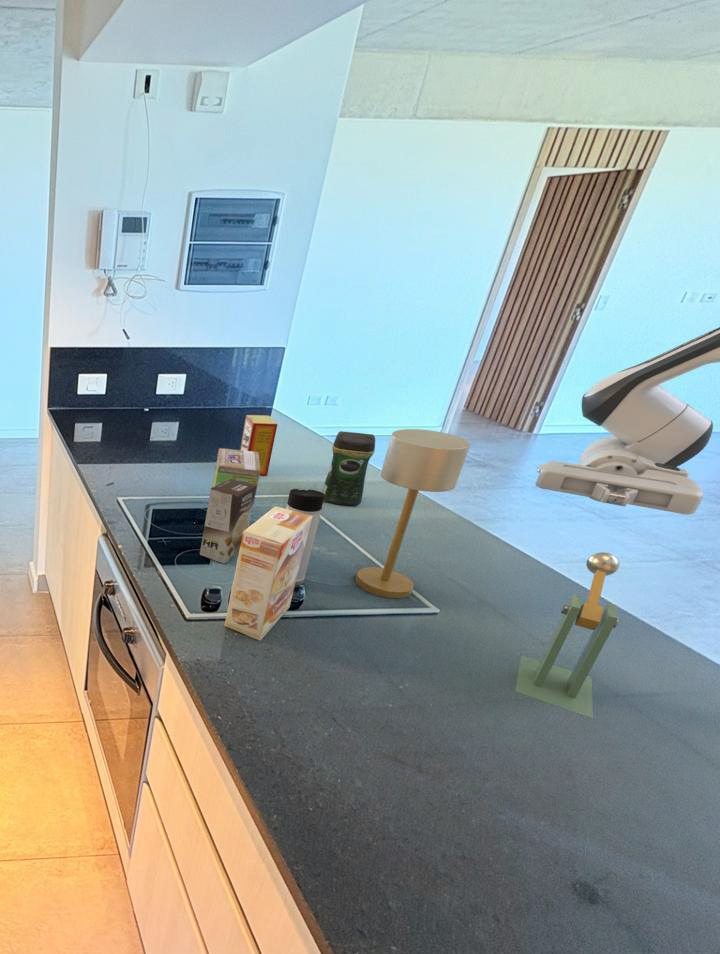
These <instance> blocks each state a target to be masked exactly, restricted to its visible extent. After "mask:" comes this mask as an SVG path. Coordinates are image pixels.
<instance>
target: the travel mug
mask: <svg viewBox="0 0 720 954" xmlns="http://www.w3.org/2000/svg"><path fill="white" fill-rule="evenodd" d="M324 497H325V494H324V493H322V491H319V490H316V489H299V488H292V489H290V490H289V494H288V499H287V502H286V506H285V509H288V510H292V511H296V512H300V513H303V514H307V515H310V516H313V518H312V521H311V524H310V528H309V532H308V536H307V540H306V544H305V548H304V551H303V555H302V559H301V563H300V567H299V571H298V575H297V579H296V583H295V585H299V586H301V585H303V584H304V582H305V578H306V574H307V570H308V567H309V562H310V559H311V553H312V550H313V546H314V542H315V538H316V534H317V531H318V528H319V527H318V526H319V523H320V518H321V516H322V515H321V514H322V510H323V504H324V502H325V500H324Z"/></svg>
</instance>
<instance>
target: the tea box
mask: <svg viewBox="0 0 720 954" xmlns="http://www.w3.org/2000/svg"><path fill="white" fill-rule="evenodd" d="M216 457H217V458H216V463H215V468H214V472H213V473H214V474H213V478H212V485H211V488H212V487H215V486H217V485H219V484H221V483H223V482H225V481H227V480H229V479H234V480H237V481H243V482H247V483H250V484H254V485H257V487H259V486H258V484H259V480H260V477H261V476H260V461H259V453H258V452H252V451H242V450H240V449H231V448H224V447H223V448H221V447H220V448H218V453H217V456H216Z"/></svg>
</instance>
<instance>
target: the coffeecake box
mask: <svg viewBox="0 0 720 954" xmlns="http://www.w3.org/2000/svg"><path fill="white" fill-rule="evenodd" d="M312 518H313V516H310V515H307V514H303V513H300V512H296V511H292V510H288V509H286V507H281V506H277V505H275V506H274V507H272V508H270V510H269V511H267V512H266V513H265V514H263V515H262V516H261V517H260V518H258V519H257V520H256V521H254V522H253V523H252V524H250V525H249V527H248V528H247V529H246V530H244V531H243V536H242V541H241V546H240V551H239V555H237V561H236V567H235V571H234V576H233V581H232V584H231V585H232V586H231V589H230V590H231V591H230V596H229V600H228V606H227V611H226V616H225V620H224V628H225V627H226V628H228V629H231V630H232V631H236V632H238V633H240V634H243V635H245V636H247V637H248V638H249V637H250V638H252V639H255V640H257V641H262V640H263V638H264V637H265V636H266V635H267V634H268V633H269V632H270V631H271V629H272V628H273V627H275V625H276V624H277V622H278V621H279V620H280V619H281V618H282V617H283V616H284V614H285V613H286V612H287V611H288V610H289V609H290V607H291V603H292V599H293V595H294V591H295V587H296V586H295V583H296V579H297V575H298V571H299V567H300V563H301V559H302V555H303V551H304V548H305V544H306V540H307V536H308V532H309V528H310V524H311V521H312Z"/></svg>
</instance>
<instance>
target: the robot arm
mask: <svg viewBox="0 0 720 954" xmlns="http://www.w3.org/2000/svg"><path fill="white" fill-rule="evenodd" d="M716 363H720V326H719V327H717V328H715V329H712V330H710V331H708V332H705V333H704V334H701V335H699V336H697V337H695V338H692V339H691V340H688V341H686V342H683V343H682V344H680V345H678V346H675V347H673V348H671V349H669V350H667V351H665V352H663V353H661V354H658V355H656V356H654V357H652V358H650V359H648V360H645V361H643V362H640V363H638V364H635V365H633V366H631V367H628V368H625V369H623V370H620V371H618V372H616V373H615V372H614V373H612V374H610V375H608V376H606V377H604V378H602V379H600V380H599V381H597V382H596V383H594V384H593V385H592V386H591V387H590V388H589V389H588V390H587V391H586V392H585V393H584V394H583V395H582V398H581V413H582V417H583V418H584V419H586V420H588V421H590V422H591V423H593V424H595V425H597V426H598V427H602V428H603V429H604V430H606V431H607V432H608V433H609V434H611V435H608V436H604V437H601V438H598V439H596V440H594V441H593V442H591V443H590V444H588V445H587V446H586V447H585V448H584V450H583V451H582V452H581V454H580V456H579V458H578V463H570V462H564V461H558V460H557V461H556V460H555V461H553V460H552V461H547V462H545V464H539V465H538V466H537V467H536V472H537V473H539V474H538V475H537V478H536V481H535V486H536V487H537V488H538V489H539V488H540V489H542V490H548V491H553V492H558V493H564V494H569V495H574V496H580V497H585V498H589V499H591V500H593V501H596V502H599V503H603V504H609V505H614V506H620V507H626V506H627V505H629V506H630V505H631V506H636V507H641V508H647V509H652V510H659V511H664V512H670V513H673V514H681V515H694V514H695V513H696V511H697V509H698V508H699V507H700V505H701V502H702V500H703V499H704V492H703V490H702V488H701V486H700V485H699V484H698V483H697V482H696V481H695V480H693V479H691V478H690V477H689V474H690V473H689V471H688V470H687V469H684V468H681V467H679V466H682V465H683V464H685V463H687V462H688V461H690V460H691V459H693V458H694V457H696V456H697V455H698V454H700V453H701V452H702V451H703V450H704V449H705V447H706V446H707V445H708V443H709V441H710V439H711V437H712V434H713V429H714V423H713V421H712V420H711V419H709V418H708V417H707V416H705V415H704V414H703V413H701V412H700V411H698V410H697V409H696V408H694V407H693V406H691V405H690V404H688V403H686V402H684V401H683V400H681V399H680V398H678V397H677V396H676V395H674V394H673V393H671V392H670V391H669V390H667V389H666V388H665V387H663V386H662V385H661V384H664V383H666V382H669V381H670V380H673V379H676V378H677V377H680V376H683V375H684V374H687V373H689V372H692V371H694V370H696V369H699V368H701V367H704V366H706V365H710V364H716Z"/></svg>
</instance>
